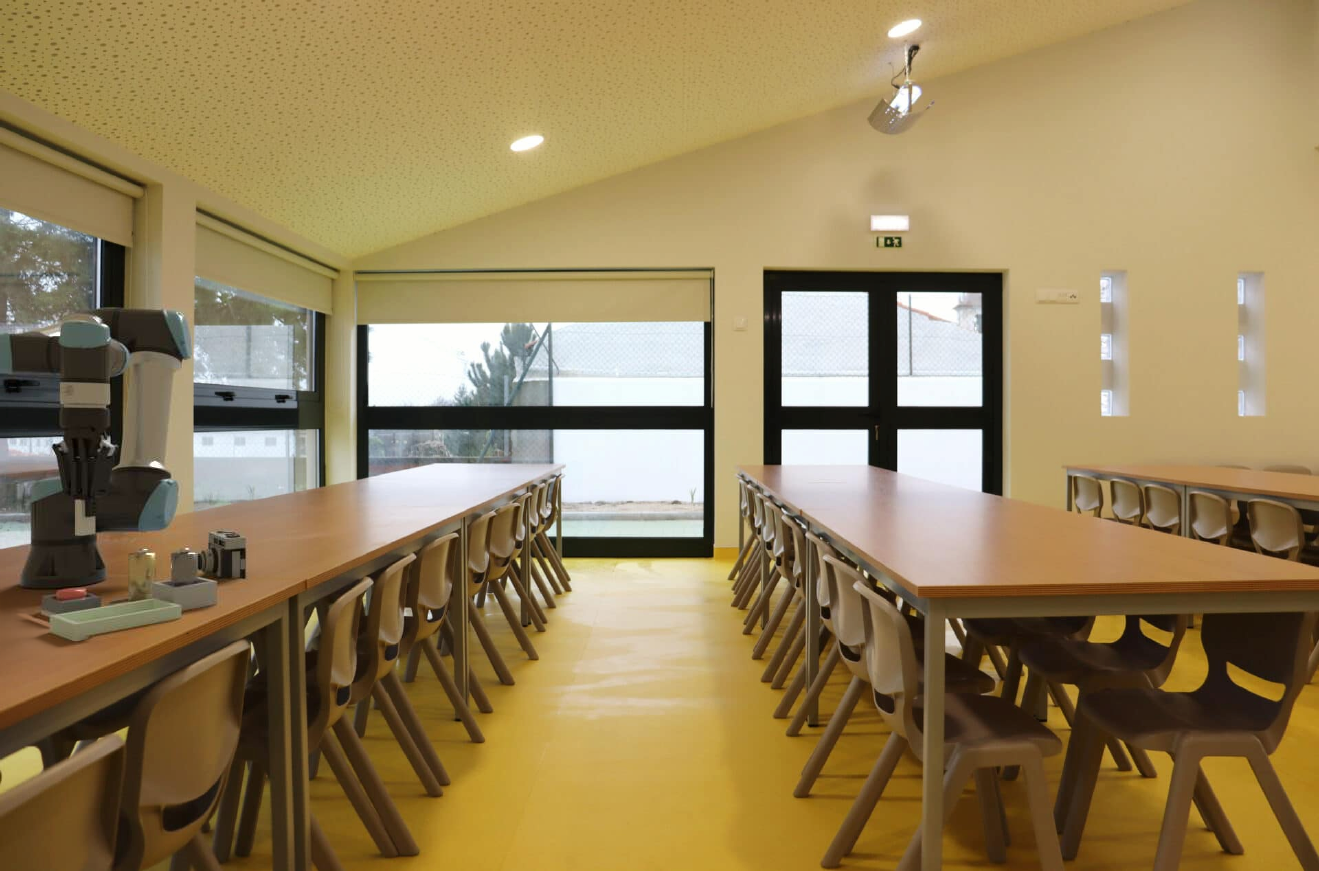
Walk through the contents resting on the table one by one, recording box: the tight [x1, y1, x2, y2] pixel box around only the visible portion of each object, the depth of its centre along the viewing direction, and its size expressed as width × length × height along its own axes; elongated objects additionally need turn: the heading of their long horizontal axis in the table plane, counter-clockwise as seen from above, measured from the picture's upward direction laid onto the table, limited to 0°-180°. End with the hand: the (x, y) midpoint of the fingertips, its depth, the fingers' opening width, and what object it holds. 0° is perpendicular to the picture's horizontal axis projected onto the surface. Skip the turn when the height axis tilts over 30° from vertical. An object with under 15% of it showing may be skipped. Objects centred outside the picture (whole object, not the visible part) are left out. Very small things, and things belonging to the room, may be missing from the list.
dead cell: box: [170, 547, 199, 587], centre depth 154 cm, size 4×4×11 cm
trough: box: [49, 598, 182, 642], centre depth 141 cm, size 10×17×3 cm, turn 147°
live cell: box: [128, 548, 157, 603], centre depth 156 cm, size 4×4×11 cm
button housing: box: [40, 592, 102, 618], centre depth 147 cm, size 9×7×4 cm
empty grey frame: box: [109, 597, 129, 604], centre depth 156 cm, size 8×10×1 cm
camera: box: [198, 529, 247, 580], centre depth 184 cm, size 14×8×10 cm, turn 44°
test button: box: [55, 587, 87, 601], centre depth 147 cm, size 4×4×2 cm
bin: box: [152, 576, 218, 612], centre depth 154 cm, size 8×8×5 cm
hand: (85, 534), depth 149 cm, fingers closed
